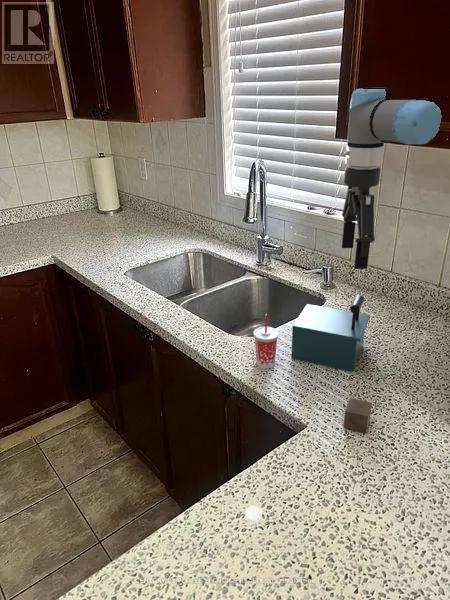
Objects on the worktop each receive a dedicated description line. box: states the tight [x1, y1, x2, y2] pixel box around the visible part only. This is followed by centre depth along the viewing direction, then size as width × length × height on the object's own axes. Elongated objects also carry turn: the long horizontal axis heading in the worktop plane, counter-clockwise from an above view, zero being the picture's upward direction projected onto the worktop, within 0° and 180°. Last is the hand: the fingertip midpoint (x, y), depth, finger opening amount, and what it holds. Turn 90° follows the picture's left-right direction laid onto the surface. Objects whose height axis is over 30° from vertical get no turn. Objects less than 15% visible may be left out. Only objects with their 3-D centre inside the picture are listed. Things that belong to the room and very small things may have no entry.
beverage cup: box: [253, 313, 279, 370], centre depth 109 cm, size 6×6×14 cm
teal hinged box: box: [290, 327, 365, 373], centre depth 114 cm, size 16×13×9 cm
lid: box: [292, 294, 371, 342], centre depth 110 cm, size 16×13×8 cm
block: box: [342, 397, 373, 435], centre depth 91 cm, size 4×4×4 cm
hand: (353, 257), depth 107 cm, fingers open, 13 cm apart
